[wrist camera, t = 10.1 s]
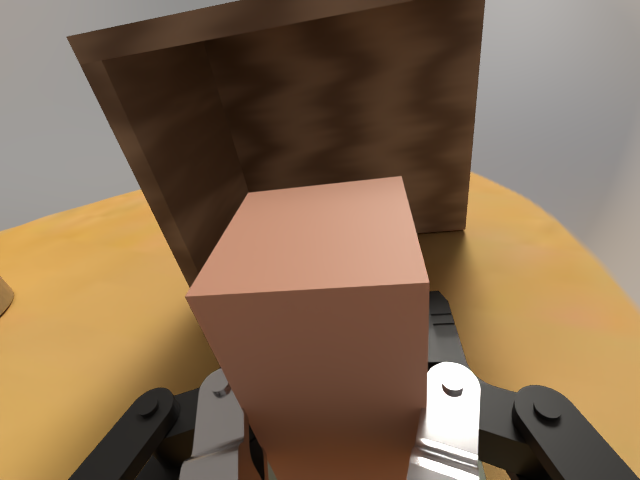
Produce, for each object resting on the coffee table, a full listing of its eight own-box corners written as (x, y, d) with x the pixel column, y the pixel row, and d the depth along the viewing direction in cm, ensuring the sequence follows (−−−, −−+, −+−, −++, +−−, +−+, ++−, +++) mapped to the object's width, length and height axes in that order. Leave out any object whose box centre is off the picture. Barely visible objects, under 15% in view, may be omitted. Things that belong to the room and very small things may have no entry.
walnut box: (214, 339, 23) (66, 36, 13) (257, 240, 33) (189, 25, 23) (513, 328, 20) (602, -76, 10) (462, 223, 30) (482, -34, 20)
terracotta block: (302, 529, 13) (184, 296, 6) (314, 413, 17) (248, 192, 10) (424, 536, 12) (429, 282, 6) (408, 414, 16) (401, 176, 9)
